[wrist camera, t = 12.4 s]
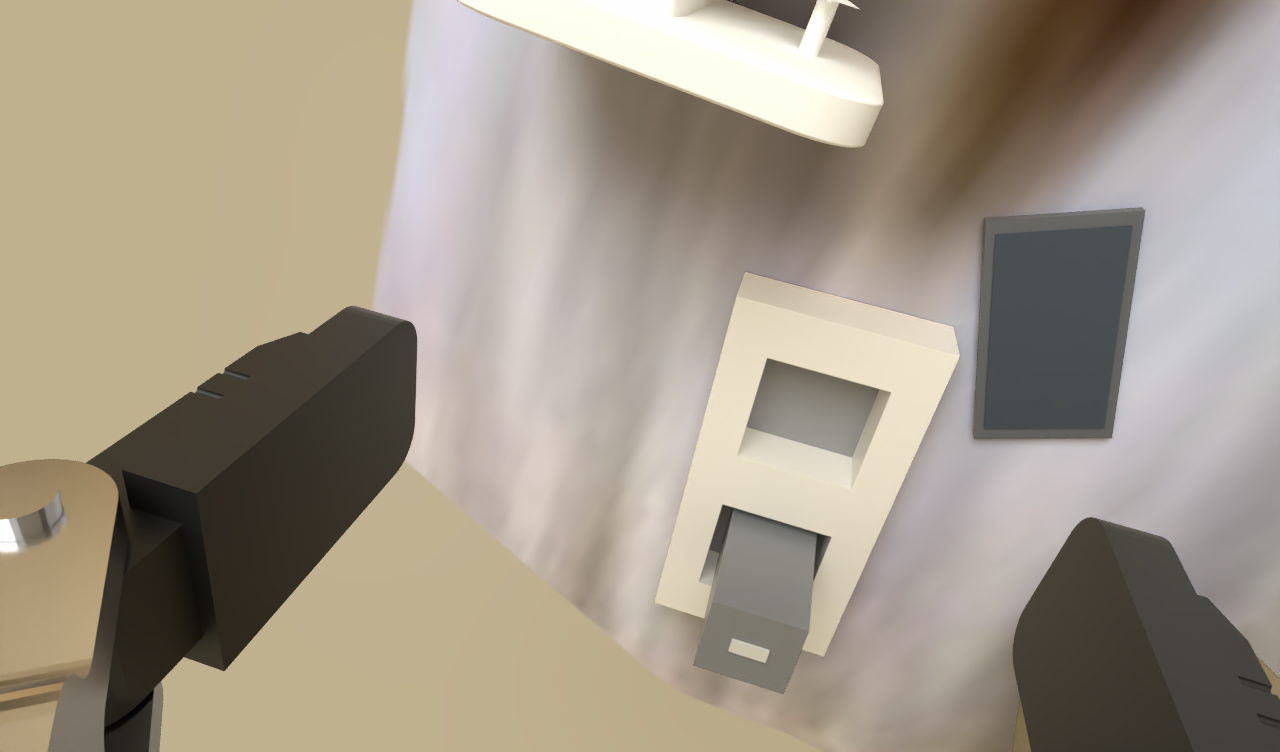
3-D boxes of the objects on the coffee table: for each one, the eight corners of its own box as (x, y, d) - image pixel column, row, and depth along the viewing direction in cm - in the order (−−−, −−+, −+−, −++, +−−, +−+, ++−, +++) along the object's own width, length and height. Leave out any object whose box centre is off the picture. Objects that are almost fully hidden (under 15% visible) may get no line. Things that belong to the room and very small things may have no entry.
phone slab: (1137, 203, 33) (1145, 211, 32) (1105, 426, 38) (1112, 438, 37) (982, 214, 35) (986, 222, 34) (971, 427, 40) (974, 439, 39)
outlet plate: (953, 327, 37) (960, 355, 34) (825, 617, 47) (823, 656, 45) (744, 271, 38) (736, 295, 35) (665, 567, 48) (654, 602, 46)
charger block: (818, 508, 43) (808, 634, 36) (796, 566, 46) (783, 697, 38) (738, 485, 44) (712, 604, 36) (721, 544, 46) (692, 668, 38)
